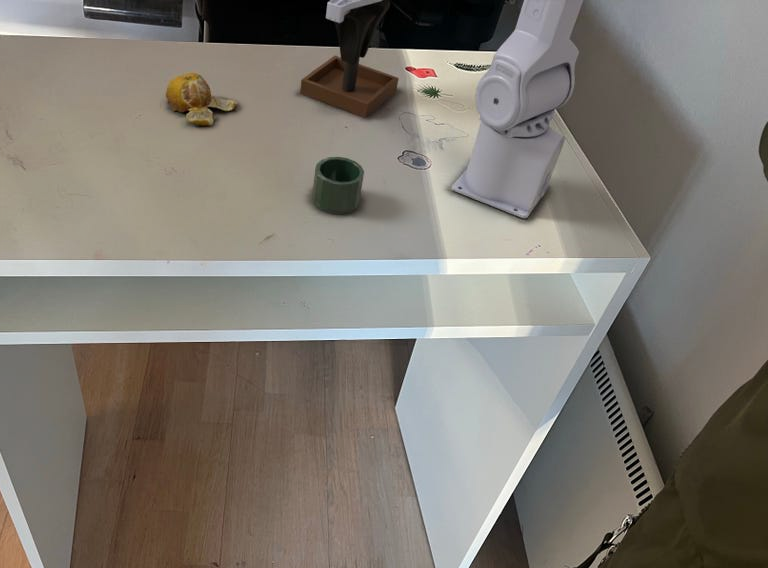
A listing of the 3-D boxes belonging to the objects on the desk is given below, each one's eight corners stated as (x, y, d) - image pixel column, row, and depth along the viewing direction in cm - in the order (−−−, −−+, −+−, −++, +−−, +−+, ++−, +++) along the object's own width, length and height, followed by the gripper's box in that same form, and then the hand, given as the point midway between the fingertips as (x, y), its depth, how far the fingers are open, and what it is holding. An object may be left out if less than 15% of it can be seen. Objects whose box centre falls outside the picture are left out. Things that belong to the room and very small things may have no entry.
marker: (357, 88, 104) (366, 30, 98) (351, 93, 102) (359, 35, 96) (345, 84, 104) (353, 26, 98) (339, 89, 103) (346, 31, 97)
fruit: (201, 131, 94) (200, 104, 91) (150, 108, 97) (149, 81, 94) (240, 106, 99) (241, 79, 96) (191, 85, 102) (191, 59, 99)
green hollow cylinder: (367, 197, 87) (372, 168, 84) (344, 220, 84) (349, 190, 81) (327, 180, 89) (330, 151, 86) (303, 202, 86) (306, 172, 83)
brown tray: (396, 91, 105) (398, 77, 103) (365, 118, 99) (367, 104, 98) (333, 68, 108) (334, 55, 106) (299, 93, 102) (301, 79, 101)
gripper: (367, -76, 96) (353, 30, 106) (309, -44, 87) (299, 68, 97) (417, -62, 93) (397, 45, 103) (362, -28, 85) (346, 86, 95)
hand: (353, 58), depth 100 cm, fingers closed on marker, 2 cm apart
